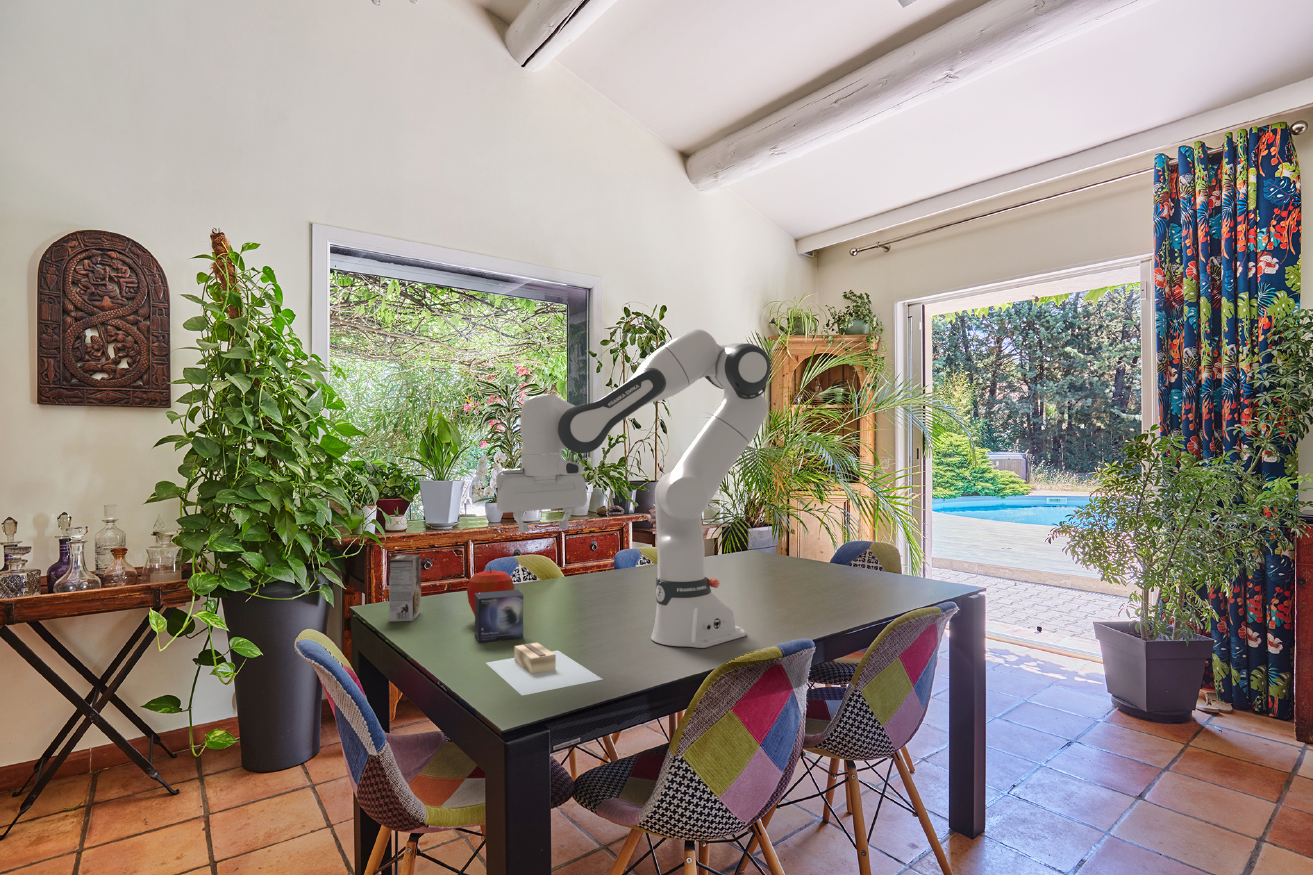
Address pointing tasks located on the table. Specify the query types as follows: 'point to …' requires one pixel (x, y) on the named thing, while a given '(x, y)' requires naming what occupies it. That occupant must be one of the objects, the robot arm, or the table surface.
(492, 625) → the small box
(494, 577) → the apple
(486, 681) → the table surface
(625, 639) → the table surface
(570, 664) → the rubber mat
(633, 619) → the table surface
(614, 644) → the table surface
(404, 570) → the coffee box
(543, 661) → the slotted wooden box
